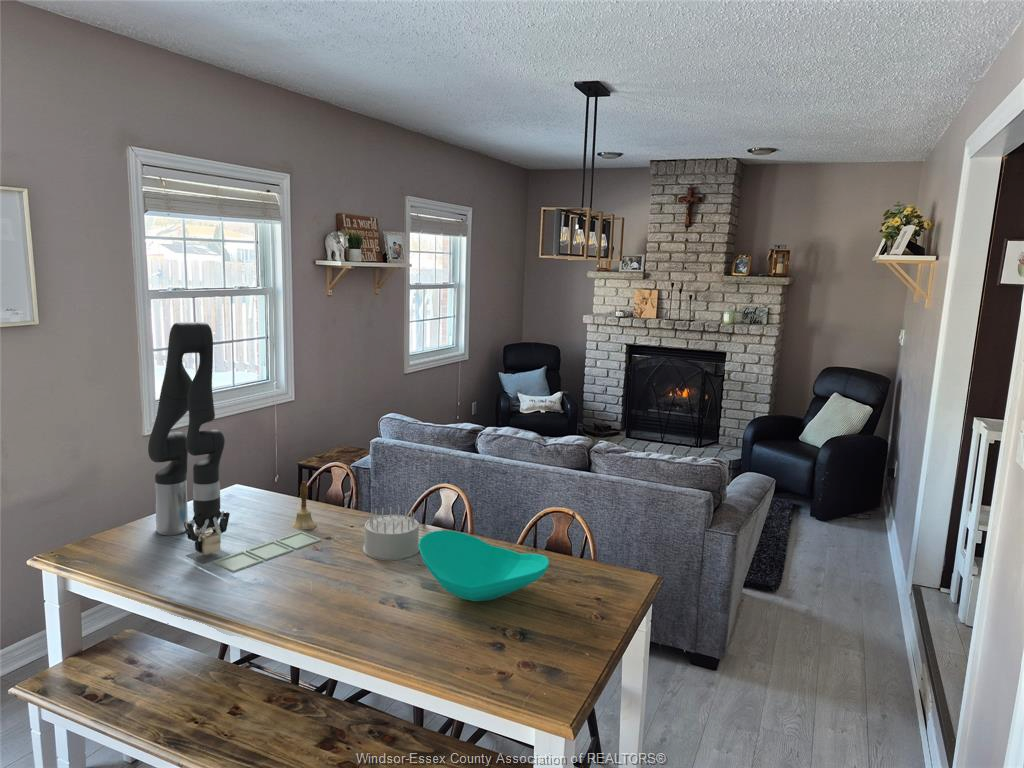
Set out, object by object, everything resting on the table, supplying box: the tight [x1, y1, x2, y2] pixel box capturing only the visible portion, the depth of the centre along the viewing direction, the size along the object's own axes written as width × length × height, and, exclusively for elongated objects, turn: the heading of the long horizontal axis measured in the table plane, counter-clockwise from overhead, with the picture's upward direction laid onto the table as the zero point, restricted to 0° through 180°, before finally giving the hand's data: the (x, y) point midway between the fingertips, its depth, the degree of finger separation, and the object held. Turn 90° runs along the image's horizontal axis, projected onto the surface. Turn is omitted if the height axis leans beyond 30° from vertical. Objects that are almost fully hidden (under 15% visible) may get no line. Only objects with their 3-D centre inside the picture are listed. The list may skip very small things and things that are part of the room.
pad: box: [185, 549, 231, 565], centre depth 216 cm, size 9×9×1 cm
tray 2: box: [245, 540, 294, 561], centre depth 221 cm, size 10×10×1 cm
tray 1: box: [212, 550, 264, 573], centre depth 212 cm, size 10×10×1 cm
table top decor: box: [418, 529, 550, 602], centre depth 198 cm, size 40×28×13 cm
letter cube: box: [201, 530, 222, 555], centre depth 215 cm, size 5×5×5 cm
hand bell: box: [291, 480, 317, 530], centre depth 242 cm, size 8×8×16 cm
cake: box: [362, 506, 420, 562], centre depth 227 cm, size 18×18×13 cm
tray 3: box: [275, 531, 322, 551], centre depth 230 cm, size 10×10×1 cm
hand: (208, 548), depth 215 cm, fingers closed on letter cube, 4 cm apart
